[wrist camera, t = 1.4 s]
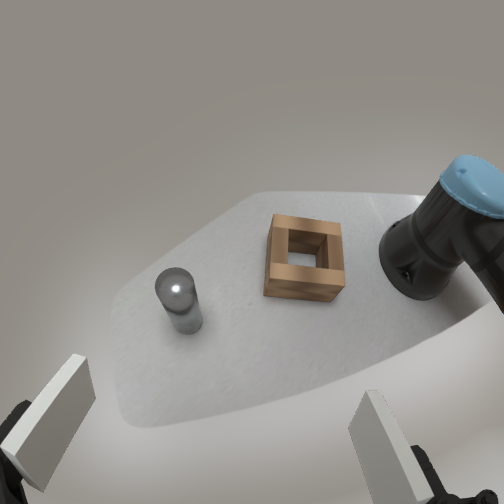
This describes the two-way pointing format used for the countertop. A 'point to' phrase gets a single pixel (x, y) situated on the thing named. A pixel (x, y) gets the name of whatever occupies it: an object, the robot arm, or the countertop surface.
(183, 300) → the silver metal peg
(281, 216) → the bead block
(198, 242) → the countertop surface
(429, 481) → the robot arm
